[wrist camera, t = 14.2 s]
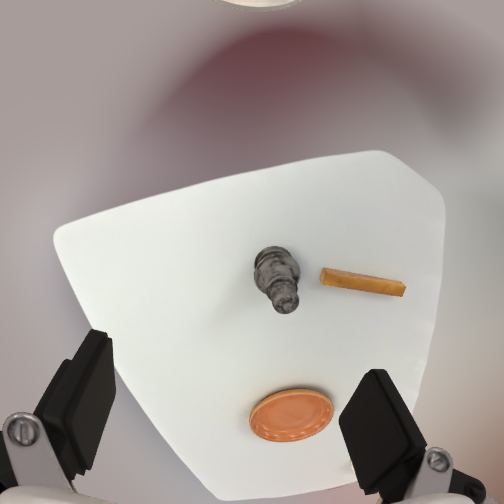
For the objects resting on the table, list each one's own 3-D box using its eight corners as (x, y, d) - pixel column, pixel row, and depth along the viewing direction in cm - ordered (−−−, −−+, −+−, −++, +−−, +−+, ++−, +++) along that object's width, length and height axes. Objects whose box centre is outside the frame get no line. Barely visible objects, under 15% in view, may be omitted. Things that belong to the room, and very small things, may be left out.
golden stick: (323, 267, 42) (326, 272, 40) (401, 281, 44) (406, 286, 42) (319, 278, 43) (322, 284, 41) (397, 291, 45) (402, 297, 43)
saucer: (234, 422, 53) (235, 434, 50) (275, 372, 49) (277, 384, 46) (301, 437, 57) (303, 447, 54) (346, 391, 52) (350, 402, 49)
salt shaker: (249, 247, 40) (255, 290, 29) (293, 241, 40) (315, 280, 29) (255, 286, 42) (263, 338, 31) (296, 280, 43) (317, 329, 31)
